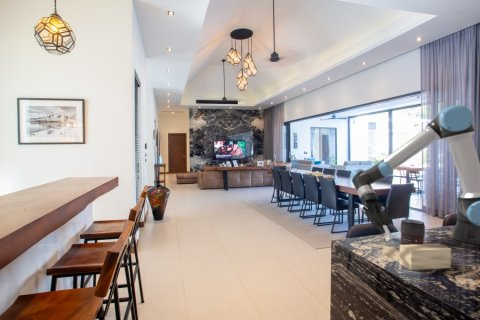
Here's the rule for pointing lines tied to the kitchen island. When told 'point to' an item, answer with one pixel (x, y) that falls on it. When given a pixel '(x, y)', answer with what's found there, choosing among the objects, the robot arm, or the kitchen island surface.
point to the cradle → (421, 256)
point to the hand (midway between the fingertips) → (389, 239)
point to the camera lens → (412, 232)
